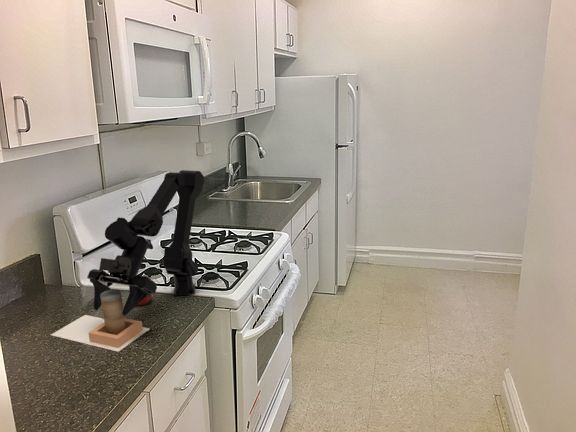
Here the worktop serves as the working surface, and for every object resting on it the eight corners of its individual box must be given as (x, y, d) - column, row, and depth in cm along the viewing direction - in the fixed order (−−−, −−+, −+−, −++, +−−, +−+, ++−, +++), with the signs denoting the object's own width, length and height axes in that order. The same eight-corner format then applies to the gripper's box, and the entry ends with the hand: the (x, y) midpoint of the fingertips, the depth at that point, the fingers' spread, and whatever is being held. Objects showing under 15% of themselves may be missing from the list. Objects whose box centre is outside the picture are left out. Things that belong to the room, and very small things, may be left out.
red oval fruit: (147, 311, 144) (143, 286, 142) (129, 309, 146) (125, 285, 143) (155, 302, 150) (153, 278, 148) (138, 301, 151) (135, 277, 149)
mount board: (51, 338, 131) (50, 334, 130) (85, 318, 141) (85, 314, 141) (119, 355, 121) (118, 351, 121) (150, 332, 132) (149, 328, 132)
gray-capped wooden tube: (105, 333, 130) (98, 292, 126) (124, 328, 132) (118, 287, 129) (108, 342, 125) (101, 299, 122) (128, 336, 128) (122, 294, 124)
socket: (114, 324, 135) (113, 316, 134) (142, 329, 131) (141, 321, 130) (89, 341, 126) (88, 332, 126) (118, 347, 123) (117, 338, 122)
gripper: (86, 240, 129) (60, 296, 122) (144, 247, 122) (120, 307, 115) (111, 258, 138) (88, 311, 131) (166, 265, 131) (145, 321, 125)
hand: (109, 312), depth 125 cm, fingers open, 9 cm apart
